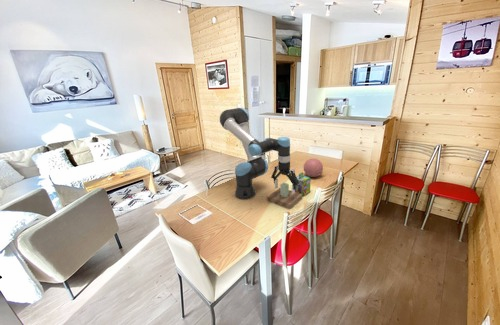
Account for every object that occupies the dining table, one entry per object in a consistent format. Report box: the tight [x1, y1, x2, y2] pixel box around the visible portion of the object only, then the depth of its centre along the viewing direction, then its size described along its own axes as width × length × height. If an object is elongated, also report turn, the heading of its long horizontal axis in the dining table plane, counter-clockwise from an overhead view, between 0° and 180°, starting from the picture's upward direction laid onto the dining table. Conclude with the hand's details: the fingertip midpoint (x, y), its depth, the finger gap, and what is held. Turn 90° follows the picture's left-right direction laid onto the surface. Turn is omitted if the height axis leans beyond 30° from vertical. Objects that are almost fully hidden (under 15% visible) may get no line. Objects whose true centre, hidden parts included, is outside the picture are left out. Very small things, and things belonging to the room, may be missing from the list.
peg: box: [279, 182, 290, 198], centre depth 143 cm, size 4×4×12 cm
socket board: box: [266, 187, 303, 210], centre depth 145 cm, size 18×16×4 cm
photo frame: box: [178, 203, 213, 226], centre depth 137 cm, size 15×1×18 cm
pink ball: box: [303, 158, 324, 178], centre depth 176 cm, size 15×20×15 cm
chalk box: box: [295, 172, 312, 197], centre depth 151 cm, size 9×9×15 cm
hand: (284, 190), depth 143 cm, fingers open, 13 cm apart
